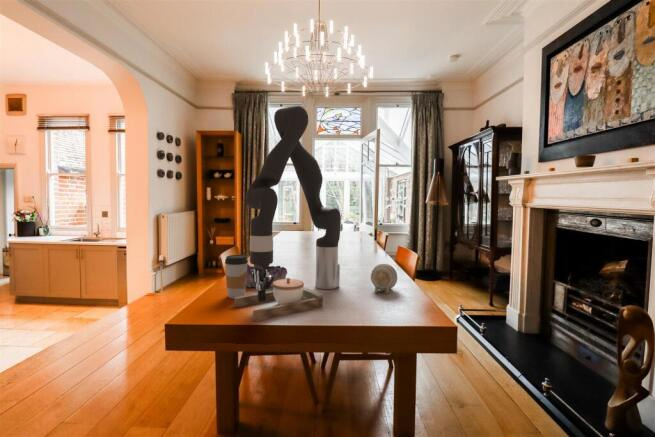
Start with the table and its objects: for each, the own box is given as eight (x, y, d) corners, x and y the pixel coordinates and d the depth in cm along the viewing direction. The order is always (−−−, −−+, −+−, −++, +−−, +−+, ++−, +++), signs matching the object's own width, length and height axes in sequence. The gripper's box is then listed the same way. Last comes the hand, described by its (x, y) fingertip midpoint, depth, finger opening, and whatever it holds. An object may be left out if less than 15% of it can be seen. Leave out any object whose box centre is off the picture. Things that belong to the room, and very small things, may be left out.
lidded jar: (279, 311, 108) (279, 283, 107) (268, 302, 117) (268, 276, 117) (308, 306, 113) (308, 279, 112) (296, 298, 122) (296, 273, 122)
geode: (237, 291, 131) (236, 265, 132) (239, 287, 143) (238, 263, 143) (288, 287, 135) (287, 262, 136) (286, 283, 146) (285, 260, 147)
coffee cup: (241, 300, 119) (241, 259, 118) (220, 298, 121) (220, 257, 120) (251, 293, 127) (251, 255, 126) (231, 292, 129) (231, 254, 128)
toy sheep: (367, 295, 128) (368, 266, 127) (373, 284, 144) (374, 259, 143) (395, 297, 125) (396, 268, 124) (398, 286, 141) (399, 260, 140)
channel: (297, 294, 127) (297, 284, 127) (322, 306, 114) (323, 294, 113) (234, 306, 112) (234, 294, 112) (255, 321, 99) (255, 308, 99)
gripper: (281, 250, 105) (281, 304, 106) (263, 245, 115) (263, 294, 117) (259, 252, 100) (259, 308, 101) (242, 247, 111) (242, 297, 112)
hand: (261, 300), depth 109 cm, fingers closed
